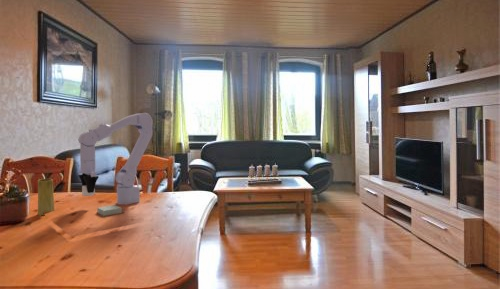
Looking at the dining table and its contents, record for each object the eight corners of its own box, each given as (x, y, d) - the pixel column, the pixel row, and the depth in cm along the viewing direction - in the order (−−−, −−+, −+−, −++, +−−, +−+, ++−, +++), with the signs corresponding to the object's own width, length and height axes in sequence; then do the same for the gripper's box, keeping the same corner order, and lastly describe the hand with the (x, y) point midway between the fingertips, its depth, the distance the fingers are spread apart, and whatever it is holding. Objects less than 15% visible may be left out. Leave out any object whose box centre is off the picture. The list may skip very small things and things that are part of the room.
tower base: (116, 213, 135) (116, 209, 135) (124, 217, 129) (124, 212, 129) (96, 217, 129) (96, 212, 129) (103, 221, 124) (103, 216, 124)
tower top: (114, 209, 134) (114, 205, 134) (121, 212, 129) (121, 207, 129) (97, 212, 129) (97, 207, 129) (103, 215, 124) (103, 210, 124)
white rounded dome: (92, 193, 140) (92, 184, 140) (96, 194, 137) (96, 185, 136) (80, 194, 137) (80, 185, 136) (84, 196, 133) (84, 187, 133)
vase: (46, 216, 128) (45, 181, 127) (33, 215, 129) (32, 180, 128) (58, 212, 134) (57, 178, 133) (45, 211, 135) (45, 178, 134)
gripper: (72, 159, 138) (73, 190, 139) (83, 162, 128) (84, 195, 129) (89, 158, 143) (90, 188, 144) (101, 161, 133) (102, 193, 133)
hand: (88, 191), depth 137 cm, fingers closed on white rounded dome, 5 cm apart
